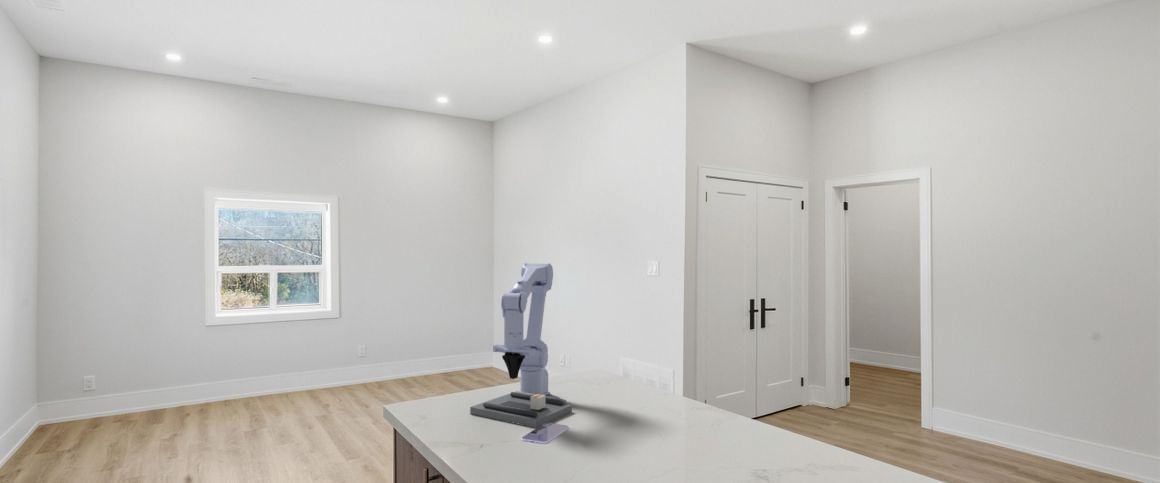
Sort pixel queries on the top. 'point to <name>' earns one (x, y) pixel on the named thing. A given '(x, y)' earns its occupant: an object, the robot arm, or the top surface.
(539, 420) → the panel
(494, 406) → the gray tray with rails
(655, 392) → the top surface
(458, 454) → the top surface
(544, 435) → the mobile phone
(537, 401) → the white orange striped block
